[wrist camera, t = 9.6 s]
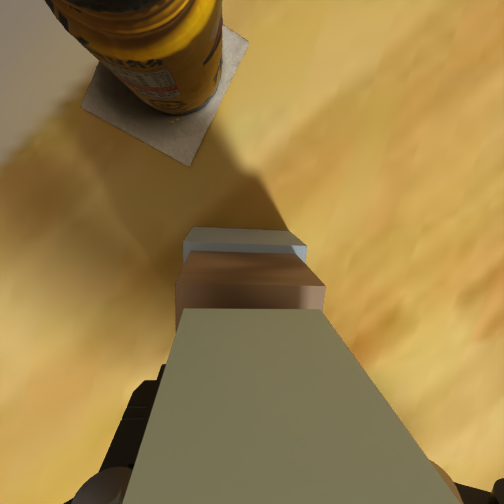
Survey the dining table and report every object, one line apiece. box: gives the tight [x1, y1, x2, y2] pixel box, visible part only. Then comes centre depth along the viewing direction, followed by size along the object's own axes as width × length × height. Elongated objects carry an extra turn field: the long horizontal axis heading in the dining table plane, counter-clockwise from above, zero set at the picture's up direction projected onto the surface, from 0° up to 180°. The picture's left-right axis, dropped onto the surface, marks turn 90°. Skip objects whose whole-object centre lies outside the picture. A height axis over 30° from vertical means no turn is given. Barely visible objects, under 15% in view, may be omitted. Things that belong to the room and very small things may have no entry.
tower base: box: [183, 227, 307, 266], centre depth 19 cm, size 7×7×5 cm
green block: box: [122, 308, 461, 504], centre depth 8 cm, size 5×5×7 cm
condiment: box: [45, 0, 249, 167], centre depth 12 cm, size 7×8×12 cm
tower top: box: [175, 251, 326, 332], centre depth 14 cm, size 6×6×5 cm
